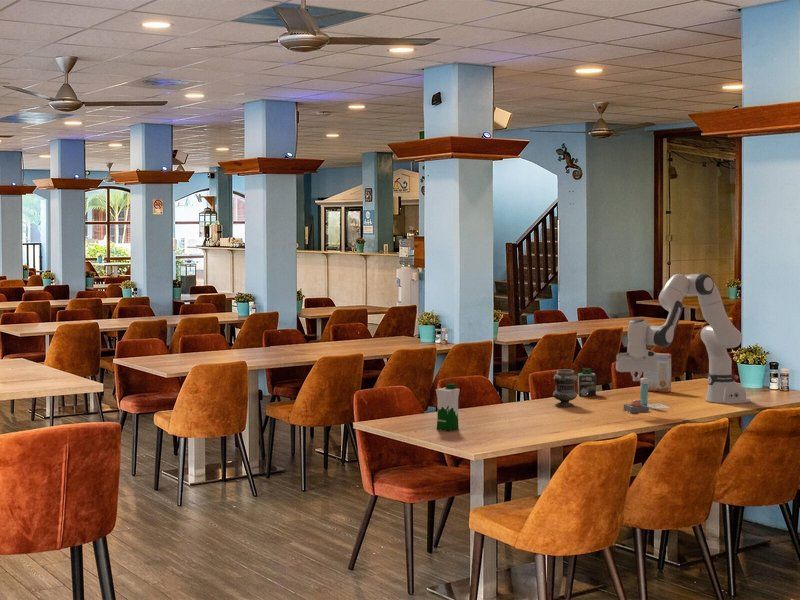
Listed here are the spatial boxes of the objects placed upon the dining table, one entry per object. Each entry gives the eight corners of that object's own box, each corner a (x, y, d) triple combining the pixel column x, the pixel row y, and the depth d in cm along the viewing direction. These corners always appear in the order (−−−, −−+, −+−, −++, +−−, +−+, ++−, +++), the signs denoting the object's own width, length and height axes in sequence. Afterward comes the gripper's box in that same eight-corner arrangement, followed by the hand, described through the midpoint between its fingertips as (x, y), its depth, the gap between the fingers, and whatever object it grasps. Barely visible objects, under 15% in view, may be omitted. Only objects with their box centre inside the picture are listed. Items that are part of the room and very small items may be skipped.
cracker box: (671, 391, 556) (671, 353, 554) (668, 392, 551) (668, 354, 549) (646, 389, 563) (646, 352, 562) (642, 390, 558) (643, 353, 557)
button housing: (640, 409, 497) (640, 403, 497) (648, 412, 488) (648, 406, 488) (623, 410, 496) (623, 404, 495) (631, 413, 487) (631, 407, 487)
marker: (645, 405, 505) (646, 377, 505) (649, 406, 502) (649, 378, 501) (638, 405, 505) (639, 378, 504) (642, 407, 501) (642, 379, 500)
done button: (638, 407, 494) (638, 399, 494) (642, 409, 490) (642, 401, 490) (629, 408, 494) (630, 399, 493) (633, 409, 489) (633, 401, 489)
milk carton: (461, 429, 449) (461, 384, 448) (448, 432, 442) (448, 386, 441) (446, 426, 455) (446, 382, 453) (433, 429, 448) (433, 384, 447)
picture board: (661, 404, 512) (661, 403, 512) (673, 409, 499) (673, 407, 499) (627, 405, 509) (627, 404, 509) (639, 410, 496) (639, 409, 495)
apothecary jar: (563, 408, 501) (564, 372, 500) (547, 405, 511) (548, 369, 510) (582, 406, 508) (582, 370, 507) (565, 403, 518) (566, 368, 517)
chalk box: (594, 394, 547) (594, 366, 546) (596, 396, 538) (596, 369, 537) (577, 393, 548) (577, 366, 547) (578, 396, 539) (578, 368, 538)
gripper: (618, 353, 485) (618, 382, 486) (658, 352, 489) (658, 381, 490) (613, 352, 491) (613, 380, 492) (653, 351, 495) (652, 379, 496)
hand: (636, 380), depth 491 cm, fingers closed
